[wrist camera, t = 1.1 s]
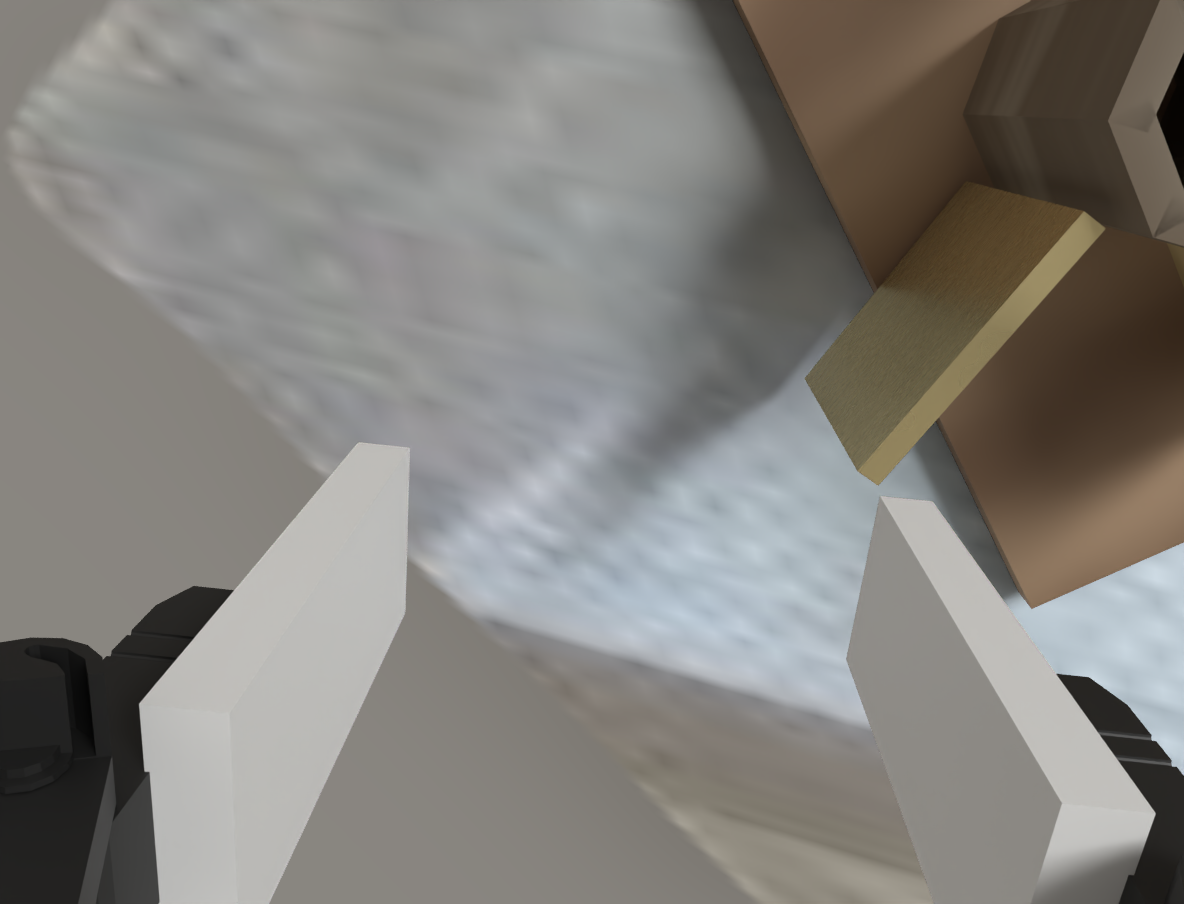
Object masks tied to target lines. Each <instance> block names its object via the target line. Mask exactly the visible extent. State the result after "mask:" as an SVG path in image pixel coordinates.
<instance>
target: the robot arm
mask: <svg viewBox="0 0 1184 904" xmlns="http://www.w3.org/2000/svg"><path fill="white" fill-rule="evenodd" d="M409 462H410V448H408V447H398V446H388V445H378V444H369V443H359V442H358V443H357V445H356V446H355V447H354V448H353V449H352V451H351V452H350V453H349V454H348V455H347V457H346V458H345V459H344V460H343V461H342V462H341V464H340V465H339V466H338V467H337V468H336V470H335V471H334V472H333V473H332V474H331V476H330V477H329V478H328V479H327V480H326V482H325V483H324V484H323V485H322V486H321V488H320V489H319V490H318V491H317V492H316V493H315V495H314V496H313V497H312V498H311V500H310V501H309V502H308V503H307V504H306V505H305V507H304V508H303V509H302V510H301V511H300V513H299V514H298V515H297V516H296V517H295V519H294V520H293V521H292V522H291V523H290V524H289V526H288V527H287V528H286V529H285V530H284V532H283V533H282V534H281V535H280V536H279V538H278V539H277V540H276V541H275V542H274V544H273V545H272V546H271V547H270V548H269V550H268V551H267V552H266V553H265V554H264V556H263V557H262V558H261V559H260V560H259V562H258V563H257V564H256V565H255V566H254V567H253V569H252V570H251V571H250V572H249V573H248V575H247V576H246V577H245V578H244V579H243V581H242V582H241V583H240V584H239V585H238V587H237V588H236V589H235V590H225V589H217V588H206V587H198V586H193V587H191V588H189V589H187V590H185V591H183V592H181V593H179V594H177V595H175V596H173V597H171V598H169V599H167V600H165V601H163V602H161V603H160V604H158V605H156V606H155V607H154V608H153V609H152V610H151V611H150V612H149V613H148V614H147V615H146V616H145V617H144V618H143V619H142V620H141V621H140V622H139V623H138V624H137V625H136V626H135V627H134V628H133V629H132V633H131V635H127V636H126V637H125V638H124V639H123V640H122V641H121V642H120V643H119V644H118V645H117V646H116V647H115V648H114V649H113V650H112V654H111V656H106V657H105V658H104V659H103V660H102V657H101V656H100V655H99V654H98V653H97V652H95V651H94V650H93V649H92V648H90V647H89V646H88V645H85V644H82V643H78V642H74V641H71V640H67V639H63V638H26V639H20V640H13V641H7V642H0V904H269V902H270V900H271V898H272V896H273V894H274V892H275V889H276V887H277V885H278V883H279V881H280V879H281V877H282V875H283V872H284V870H285V868H286V866H287V864H288V862H289V860H290V858H291V855H292V853H293V851H294V849H295V847H296V844H297V843H298V840H299V838H300V836H301V834H302V832H303V830H304V828H305V825H306V823H307V821H308V819H309V817H310V815H311V813H312V810H313V808H314V806H315V804H316V802H317V800H318V798H319V796H320V794H321V791H322V789H323V787H324V785H325V782H326V781H327V779H328V776H329V774H330V772H331V770H332V768H333V766H334V764H335V762H336V759H337V757H338V755H339V753H340V751H341V749H342V746H343V744H344V742H345V740H346V738H347V736H348V734H349V731H350V729H351V727H352V725H353V723H354V721H355V719H356V716H357V715H358V712H359V710H360V708H361V706H362V704H363V702H364V700H365V698H366V695H367V693H368V691H369V689H370V687H371V685H372V683H373V680H374V678H375V676H376V674H377V672H378V670H379V668H380V666H381V663H382V661H383V659H384V657H385V655H386V653H387V651H388V648H389V646H390V644H391V642H392V640H393V638H394V636H395V634H396V631H397V629H398V627H399V625H400V622H401V621H402V618H403V616H404V614H405V605H406V568H407V566H406V565H407V533H408V497H409ZM846 660H847V663H848V665H849V668H850V671H851V674H852V677H853V679H854V682H855V685H856V688H857V690H858V693H859V696H860V699H861V702H862V704H863V707H864V710H865V713H866V715H867V718H868V721H869V724H870V727H871V729H872V732H873V735H874V738H875V741H876V743H877V746H878V749H879V752H880V754H881V757H882V760H883V763H884V766H885V768H886V771H887V774H888V777H889V780H890V782H891V785H892V788H893V791H894V793H895V796H896V799H897V802H898V805H899V807H900V810H901V813H902V816H903V819H904V821H905V824H906V827H907V830H908V832H909V835H910V838H911V841H912V844H913V846H914V849H915V852H916V855H917V858H918V860H919V863H920V866H921V869H922V871H923V874H924V877H925V880H926V883H927V885H928V888H929V891H930V894H931V896H932V899H933V902H934V904H1184V776H1183V774H1182V773H1181V772H1180V771H1179V769H1178V768H1177V767H1172V765H1171V761H1172V760H1171V759H1170V758H1169V757H1168V755H1167V754H1166V753H1165V752H1164V750H1163V749H1162V748H1161V747H1160V745H1159V744H1158V743H1157V742H1156V741H1152V740H1151V734H1150V733H1149V732H1148V730H1147V729H1146V728H1145V727H1144V725H1143V724H1142V723H1141V722H1140V720H1139V719H1138V718H1137V717H1136V715H1135V714H1134V713H1133V711H1132V710H1131V709H1130V708H1129V706H1128V705H1127V704H1125V703H1124V702H1122V701H1121V700H1120V699H1118V698H1117V697H1115V696H1114V695H1113V694H1111V693H1110V692H1109V691H1107V690H1106V689H1104V688H1103V687H1102V686H1100V685H1099V684H1097V683H1096V682H1095V681H1093V680H1092V679H1091V678H1089V677H1081V676H1071V675H1062V674H1056V673H1055V672H1054V670H1053V669H1052V668H1051V666H1050V665H1049V663H1048V662H1047V661H1046V659H1045V658H1044V656H1043V655H1042V654H1041V652H1040V651H1039V649H1038V648H1037V647H1036V645H1035V644H1034V642H1033V641H1032V640H1031V638H1030V637H1029V635H1028V634H1027V633H1026V631H1025V630H1024V628H1023V627H1022V626H1021V624H1020V623H1019V622H1018V620H1017V619H1016V617H1015V616H1014V615H1013V613H1012V612H1011V610H1010V609H1009V608H1008V606H1007V605H1006V603H1005V602H1004V601H1003V599H1002V598H1001V596H1000V595H999V594H998V592H997V591H996V589H995V588H994V587H993V585H992V584H991V582H990V581H989V580H988V578H987V577H986V575H985V574H984V573H983V571H982V570H981V568H980V567H979V566H978V564H977V563H976V561H975V560H974V559H973V557H972V556H971V554H970V553H969V552H968V550H967V549H966V547H965V546H964V545H963V543H962V542H961V540H960V539H959V538H958V536H957V535H956V533H955V532H954V531H953V529H952V528H951V526H950V525H949V524H948V522H947V521H946V519H945V518H944V517H943V515H942V514H941V512H940V511H939V510H938V508H937V507H936V505H935V504H934V503H933V501H924V500H915V499H905V498H895V497H885V496H880V498H879V503H878V508H877V513H876V518H875V522H874V527H873V532H872V537H871V542H870V547H869V551H868V556H867V561H866V566H865V571H864V576H863V581H862V585H861V590H860V595H859V600H858V605H857V610H856V614H855V619H854V624H853V629H852V634H851V639H850V643H849V648H848V653H847V658H846Z"/></svg>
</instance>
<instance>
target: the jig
mask: <svg viewBox="0 0 1184 904" xmlns="http://www.w3.org/2000/svg"><path fill="white" fill-rule="evenodd" d="M733 2H734V4H735V6H736V8H737V10H738V13H739V15H740V17H741V19H742V21H743V23H744V25H745V27H746V29H747V31H748V33H749V35H750V37H751V39H752V41H753V44H754V46H755V48H756V50H757V52H758V54H759V56H760V58H761V60H762V62H763V64H764V66H765V68H766V70H767V72H768V75H769V77H770V79H771V81H772V83H773V85H774V87H775V89H776V91H777V93H778V95H779V97H780V99H781V101H782V104H783V106H784V108H785V110H786V112H787V114H788V116H789V118H790V120H791V122H792V124H793V126H794V128H795V130H796V132H797V135H798V137H799V139H800V141H801V143H802V145H803V147H804V149H805V151H806V153H807V155H808V157H809V159H810V161H811V164H812V166H813V168H814V170H815V172H816V174H817V176H818V178H819V180H820V182H821V184H822V186H823V188H824V190H825V192H826V195H827V197H828V199H829V201H830V203H831V205H832V207H833V209H834V211H835V213H836V215H837V217H838V219H839V221H840V223H841V226H842V228H843V230H844V232H845V234H846V236H847V238H848V240H849V242H850V244H851V246H852V248H853V250H854V252H855V255H856V257H857V259H858V261H859V263H860V265H861V267H862V269H863V271H864V273H865V275H866V277H867V279H868V281H869V283H870V286H871V288H872V290H873V292H874V293H875V292H876V291H877V289H878V288H879V287H880V286H881V284H882V283H883V282H884V281H885V280H886V278H887V277H888V276H889V275H890V273H891V272H892V271H893V270H894V269H895V267H896V266H897V265H898V264H899V262H900V261H901V260H902V259H903V258H904V256H905V255H906V254H907V253H908V251H909V250H910V249H911V248H912V247H913V245H914V244H915V243H916V242H917V240H918V239H919V238H920V237H921V236H922V234H923V233H924V232H925V231H926V229H927V228H928V227H929V226H930V225H931V223H932V222H933V221H934V220H935V218H936V217H937V216H938V215H939V214H940V212H941V211H942V210H943V209H944V207H945V206H946V205H947V204H948V203H949V201H950V200H951V199H952V198H953V197H954V195H955V194H956V193H957V192H958V190H959V189H960V188H961V187H962V186H963V184H964V183H965V182H966V181H967V182H971V183H975V184H979V185H983V186H987V187H991V188H995V189H999V190H1003V191H1007V192H1011V193H1014V194H1018V195H1022V196H1026V197H1030V198H1034V199H1038V200H1042V201H1046V202H1050V203H1054V204H1058V205H1062V206H1066V207H1070V208H1074V209H1078V210H1082V211H1085V212H1086V213H1087V214H1088V215H1090V216H1091V217H1092V218H1093V219H1095V220H1096V221H1097V222H1098V223H1100V224H1101V225H1102V226H1103V227H1105V228H1106V229H1105V230H1104V231H1103V233H1102V234H1101V235H1100V236H1099V237H1098V238H1097V239H1096V240H1095V242H1094V243H1093V244H1092V245H1091V246H1090V247H1089V248H1088V249H1087V251H1086V252H1085V253H1084V254H1083V255H1082V256H1081V257H1080V259H1079V260H1078V261H1077V262H1076V263H1075V264H1074V265H1073V266H1072V268H1071V269H1070V270H1069V271H1068V272H1067V273H1066V274H1065V275H1064V277H1063V278H1062V279H1061V280H1060V281H1059V282H1058V283H1057V284H1056V286H1055V287H1054V288H1053V289H1052V290H1051V291H1050V292H1049V294H1048V295H1047V296H1046V297H1045V298H1044V299H1043V300H1042V301H1041V303H1040V304H1039V305H1038V306H1037V307H1036V308H1035V309H1034V310H1033V312H1032V313H1031V314H1030V315H1029V316H1028V317H1027V318H1026V319H1025V321H1024V322H1023V323H1022V324H1021V325H1020V326H1019V327H1018V328H1017V330H1016V331H1015V332H1014V333H1013V334H1012V335H1011V336H1010V338H1009V339H1008V340H1007V341H1006V342H1005V343H1004V344H1003V345H1002V347H1001V348H1000V349H999V350H998V351H997V352H996V353H995V354H994V356H993V357H992V358H991V359H990V360H989V361H988V362H987V363H986V365H985V366H984V367H983V368H982V369H981V370H980V371H979V373H978V374H977V375H976V376H975V377H974V378H973V379H972V380H971V382H970V383H969V384H968V385H967V386H966V387H965V388H964V389H963V391H962V392H961V393H960V394H959V395H958V396H957V397H956V398H955V400H954V401H953V402H952V403H951V404H950V405H949V406H948V408H947V409H946V410H945V411H944V412H943V413H942V414H941V415H940V417H939V418H938V419H937V420H936V422H937V424H938V426H939V428H940V430H941V432H942V434H943V437H944V439H945V441H946V443H947V445H948V447H949V449H950V451H951V453H952V455H953V457H954V459H955V461H956V463H957V466H958V468H959V470H960V472H961V474H962V476H963V478H964V480H965V482H966V484H967V486H968V488H969V490H970V492H971V494H972V497H973V499H974V501H975V503H976V505H977V507H978V509H979V511H980V513H981V515H982V517H983V519H984V521H985V523H986V526H987V528H988V530H989V532H990V534H991V536H992V538H993V540H994V542H995V544H996V546H997V548H998V550H999V552H1000V554H1001V557H1002V559H1003V561H1004V563H1005V565H1006V567H1007V569H1008V571H1009V573H1010V575H1011V577H1012V579H1013V581H1014V583H1015V585H1016V588H1017V590H1018V592H1019V593H1020V594H1021V596H1022V597H1023V598H1024V600H1025V601H1026V602H1027V603H1028V605H1029V606H1030V607H1031V609H1032V608H1035V607H1037V606H1039V605H1041V604H1044V603H1046V602H1048V601H1051V600H1053V599H1055V598H1057V597H1060V596H1062V595H1064V594H1067V593H1069V592H1071V591H1074V590H1076V589H1078V588H1080V587H1083V586H1085V585H1087V584H1090V583H1092V582H1094V581H1096V580H1099V579H1101V578H1103V577H1106V576H1108V575H1110V574H1112V573H1115V572H1117V571H1119V570H1122V569H1124V568H1126V567H1128V566H1131V565H1133V564H1135V563H1138V562H1140V561H1142V560H1144V559H1147V558H1149V557H1151V556H1154V555H1156V554H1158V553H1160V552H1163V551H1165V550H1167V549H1170V548H1172V547H1174V546H1176V545H1179V544H1181V543H1183V542H1184V0H733Z"/></svg>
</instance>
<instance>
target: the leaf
mask: <svg viewBox="0 0 1184 904" xmlns="http://www.w3.org/2000/svg"><path fill="white" fill-rule="evenodd" d="M1105 229H1106V228H1105V227H1103V226H1102V225H1101V224H1100V223H1098V222H1097V221H1096V220H1095V219H1093V218H1092V217H1091V216H1090V215H1088V214H1087V213H1086V212H1085V211H1082V210H1078V209H1074V208H1070V207H1066V206H1062V205H1058V204H1054V203H1050V202H1046V201H1042V200H1038V199H1034V198H1030V197H1026V196H1022V195H1018V194H1014V193H1011V192H1007V191H1003V190H999V189H995V188H991V187H987V186H983V185H979V184H975V183H971V182H967V181H966V182H965V183H964V184H963V186H962V187H961V188H960V189H959V190H958V192H957V193H956V194H955V195H954V197H953V198H952V199H951V200H950V201H949V203H948V204H947V205H946V206H945V207H944V209H943V210H942V211H941V212H940V214H939V215H938V216H937V217H936V218H935V220H934V221H933V222H932V223H931V225H930V226H929V227H928V228H927V229H926V231H925V232H924V233H923V234H922V236H921V237H920V238H919V239H918V240H917V242H916V243H915V244H914V245H913V247H912V248H911V249H910V250H909V251H908V253H907V254H906V255H905V256H904V258H903V259H902V260H901V261H900V262H899V264H898V265H897V266H896V267H895V269H894V270H893V271H892V272H891V273H890V275H889V276H888V277H887V278H886V280H885V281H884V282H883V283H882V284H881V286H880V287H879V288H878V289H877V291H876V292H875V293H874V294H873V295H872V297H871V298H870V299H869V300H868V302H867V303H866V304H865V305H864V306H863V308H862V309H861V310H860V311H859V313H858V314H857V315H856V316H855V317H854V319H853V320H852V321H851V322H850V324H849V325H848V326H847V327H846V328H845V330H844V331H843V332H842V333H841V335H840V336H839V337H838V338H837V339H836V341H835V342H834V343H833V344H832V345H831V347H830V348H829V349H828V350H827V352H826V353H825V354H824V355H823V356H822V358H821V359H820V360H819V361H818V363H817V364H816V365H815V366H814V367H813V369H812V370H811V371H810V372H809V374H808V375H807V376H806V377H805V380H806V382H807V383H808V385H809V387H810V389H811V390H812V392H813V394H814V396H815V397H816V399H817V401H818V403H819V404H820V406H821V408H822V410H823V411H824V413H825V415H826V417H827V418H828V420H829V422H830V424H831V425H832V427H833V429H834V431H835V432H836V434H837V436H838V438H839V439H840V441H841V443H842V445H843V446H844V448H845V450H846V452H847V453H848V455H849V457H850V459H851V460H852V462H853V464H854V466H855V467H856V469H857V471H858V472H860V473H861V474H862V475H864V476H865V477H867V478H868V479H869V480H871V481H872V482H874V483H875V484H876V485H879V484H880V483H881V482H882V481H883V480H884V479H885V477H886V476H887V475H888V474H889V473H890V472H891V471H892V470H893V468H894V467H895V466H896V465H897V464H898V463H899V462H900V461H901V459H902V458H903V457H904V456H905V455H906V454H907V453H908V452H909V450H910V449H911V448H912V447H913V446H914V445H915V444H916V442H917V441H918V440H919V439H920V438H921V437H922V436H923V435H924V433H925V432H926V431H927V430H928V429H929V428H930V427H931V426H932V424H933V423H934V422H935V421H936V420H937V419H938V418H939V417H940V415H941V414H942V413H943V412H944V411H945V410H946V409H947V408H948V406H949V405H950V404H951V403H952V402H953V401H954V400H955V398H956V397H957V396H958V395H959V394H960V393H961V392H962V391H963V389H964V388H965V387H966V386H967V385H968V384H969V383H970V382H971V380H972V379H973V378H974V377H975V376H976V375H977V374H978V373H979V371H980V370H981V369H982V368H983V367H984V366H985V365H986V363H987V362H988V361H989V360H990V359H991V358H992V357H993V356H994V354H995V353H996V352H997V351H998V350H999V349H1000V348H1001V347H1002V345H1003V344H1004V343H1005V342H1006V341H1007V340H1008V339H1009V338H1010V336H1011V335H1012V334H1013V333H1014V332H1015V331H1016V330H1017V328H1018V327H1019V326H1020V325H1021V324H1022V323H1023V322H1024V321H1025V319H1026V318H1027V317H1028V316H1029V315H1030V314H1031V313H1032V312H1033V310H1034V309H1035V308H1036V307H1037V306H1038V305H1039V304H1040V303H1041V301H1042V300H1043V299H1044V298H1045V297H1046V296H1047V295H1048V294H1049V292H1050V291H1051V290H1052V289H1053V288H1054V287H1055V286H1056V284H1057V283H1058V282H1059V281H1060V280H1061V279H1062V278H1063V277H1064V275H1065V274H1066V273H1067V272H1068V271H1069V270H1070V269H1071V268H1072V266H1073V265H1074V264H1075V263H1076V262H1077V261H1078V260H1079V259H1080V257H1081V256H1082V255H1083V254H1084V253H1085V252H1086V251H1087V249H1088V248H1089V247H1090V246H1091V245H1092V244H1093V243H1094V242H1095V240H1096V239H1097V238H1098V237H1099V236H1100V235H1101V234H1102V233H1103V231H1104V230H1105Z"/></svg>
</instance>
